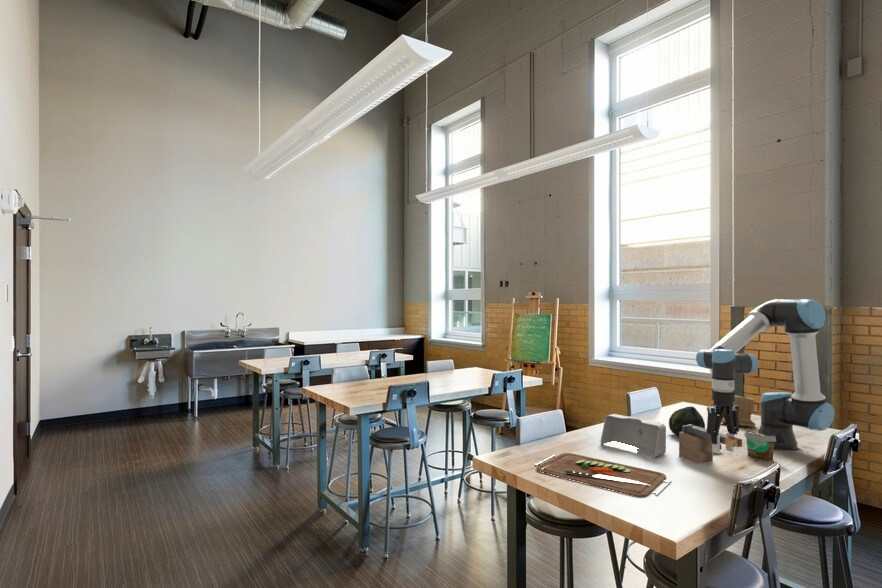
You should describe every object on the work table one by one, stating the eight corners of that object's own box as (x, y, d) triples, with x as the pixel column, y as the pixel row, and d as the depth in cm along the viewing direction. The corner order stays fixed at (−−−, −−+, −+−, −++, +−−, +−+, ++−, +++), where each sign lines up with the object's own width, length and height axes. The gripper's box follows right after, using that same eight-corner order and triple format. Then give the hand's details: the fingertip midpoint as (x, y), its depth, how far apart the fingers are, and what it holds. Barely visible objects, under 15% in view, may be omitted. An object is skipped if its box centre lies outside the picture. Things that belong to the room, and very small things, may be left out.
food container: (736, 454, 209) (737, 429, 209) (747, 452, 211) (747, 428, 211) (765, 463, 197) (765, 437, 197) (776, 461, 199) (776, 436, 199)
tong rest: (694, 454, 207) (694, 424, 207) (745, 473, 186) (745, 439, 186) (679, 456, 204) (679, 425, 205) (728, 475, 183) (728, 441, 183)
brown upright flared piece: (757, 425, 257) (757, 395, 257) (753, 429, 248) (753, 399, 248) (724, 420, 267) (724, 391, 267) (719, 424, 258) (719, 395, 258)
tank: (673, 451, 212) (673, 421, 212) (654, 459, 202) (654, 427, 202) (619, 438, 231) (620, 411, 231) (599, 444, 221) (599, 416, 221)
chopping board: (676, 479, 180) (676, 470, 180) (652, 502, 160) (652, 493, 160) (559, 454, 209) (560, 446, 209) (527, 470, 188) (527, 462, 188)
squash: (663, 418, 246) (671, 399, 236) (695, 420, 245) (705, 402, 235) (670, 444, 236) (679, 425, 226) (703, 446, 234) (714, 428, 224)
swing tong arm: (690, 431, 204) (690, 424, 204) (736, 446, 184) (736, 437, 184) (685, 432, 203) (685, 424, 203) (732, 446, 183) (732, 438, 183)
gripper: (712, 393, 183) (712, 457, 183) (750, 390, 190) (750, 452, 190) (695, 390, 191) (695, 451, 190) (733, 387, 197) (733, 446, 197)
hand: (722, 451), depth 190 cm, fingers open, 6 cm apart
